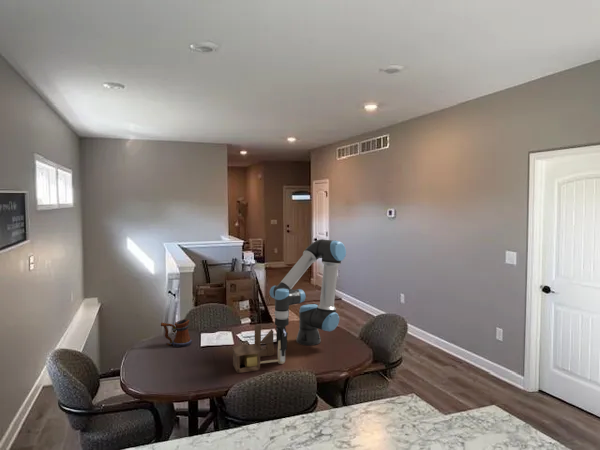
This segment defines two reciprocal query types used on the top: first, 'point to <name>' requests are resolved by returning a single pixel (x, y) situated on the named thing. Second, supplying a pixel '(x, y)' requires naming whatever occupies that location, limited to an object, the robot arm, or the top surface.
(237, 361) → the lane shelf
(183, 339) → the mug
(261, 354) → the wooden block
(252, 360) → the block
